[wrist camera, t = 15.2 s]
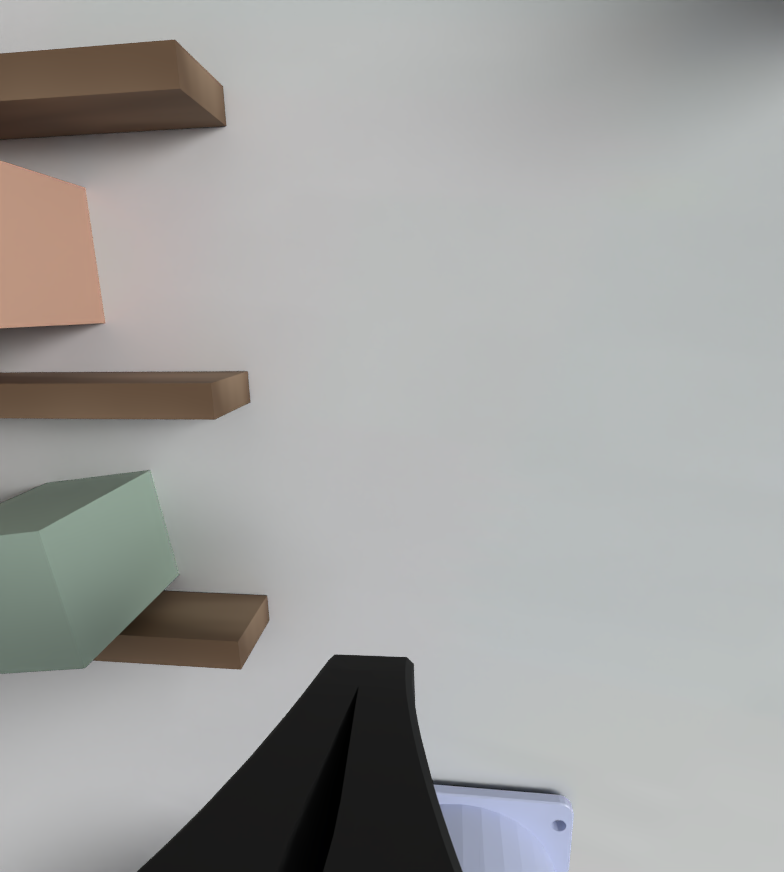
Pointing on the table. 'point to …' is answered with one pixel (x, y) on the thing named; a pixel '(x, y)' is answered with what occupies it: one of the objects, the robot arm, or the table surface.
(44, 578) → the sage block
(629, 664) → the table surface
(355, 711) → the robot arm
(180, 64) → the rack
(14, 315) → the terracotta block
